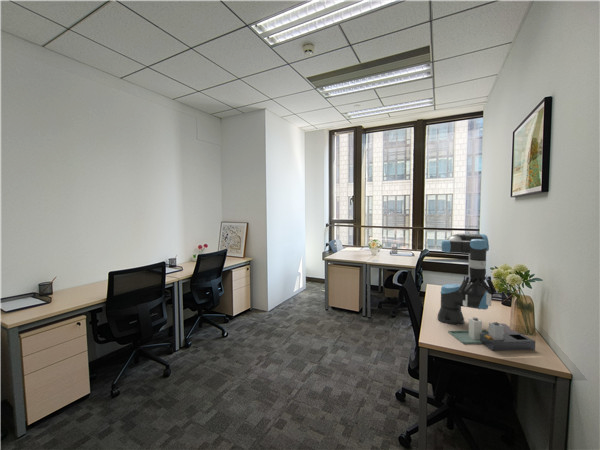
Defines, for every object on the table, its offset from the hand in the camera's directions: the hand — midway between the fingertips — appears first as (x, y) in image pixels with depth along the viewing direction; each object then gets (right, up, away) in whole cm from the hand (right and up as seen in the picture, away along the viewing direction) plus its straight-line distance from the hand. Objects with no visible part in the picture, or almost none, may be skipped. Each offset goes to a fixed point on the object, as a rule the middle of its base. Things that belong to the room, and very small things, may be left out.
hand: (476, 305), depth 150 cm
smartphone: (+25, -18, +13) cm, 34 cm away
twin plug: (+4, -17, -9) cm, 20 cm away
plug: (0, -18, +1) cm, 18 cm away
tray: (0, -19, +1) cm, 19 cm away
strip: (+10, -19, -9) cm, 23 cm away
